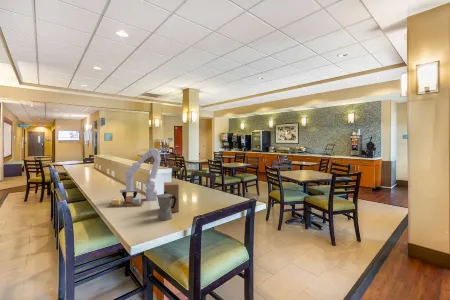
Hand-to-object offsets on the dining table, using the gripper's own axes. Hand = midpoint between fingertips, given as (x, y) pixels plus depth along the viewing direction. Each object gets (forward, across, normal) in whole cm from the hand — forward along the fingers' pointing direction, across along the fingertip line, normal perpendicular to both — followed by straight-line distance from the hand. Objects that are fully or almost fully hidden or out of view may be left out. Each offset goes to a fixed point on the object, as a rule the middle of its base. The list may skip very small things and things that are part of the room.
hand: (130, 201), depth 181 cm
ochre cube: (+1, +7, +10) cm, 12 cm away
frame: (+1, 0, +10) cm, 10 cm away
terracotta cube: (+2, 0, 0) cm, 2 cm away
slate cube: (+1, -7, +10) cm, 12 cm away
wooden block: (+2, -35, +24) cm, 43 cm away
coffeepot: (+2, -33, +41) cm, 53 cm away
